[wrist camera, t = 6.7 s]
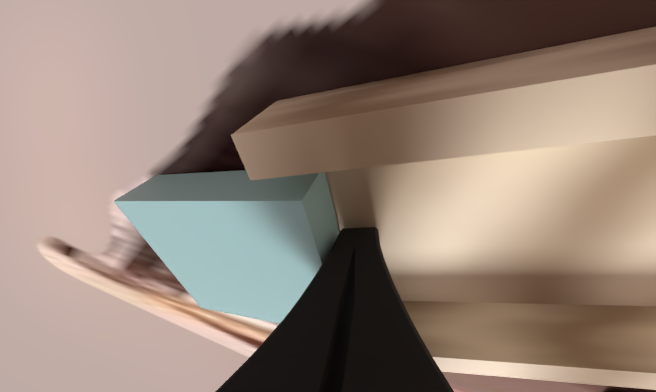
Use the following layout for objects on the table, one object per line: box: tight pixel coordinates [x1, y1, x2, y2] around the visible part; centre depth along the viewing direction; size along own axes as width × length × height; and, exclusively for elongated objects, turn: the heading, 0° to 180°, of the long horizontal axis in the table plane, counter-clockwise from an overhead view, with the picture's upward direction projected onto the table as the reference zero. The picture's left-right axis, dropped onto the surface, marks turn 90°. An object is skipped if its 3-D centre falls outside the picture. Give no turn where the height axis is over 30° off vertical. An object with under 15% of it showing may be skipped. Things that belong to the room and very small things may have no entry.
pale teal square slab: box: [114, 170, 340, 323], centre depth 11 cm, size 8×7×2 cm
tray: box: [231, 26, 656, 390], centre depth 7 cm, size 20×11×3 cm, turn 103°
